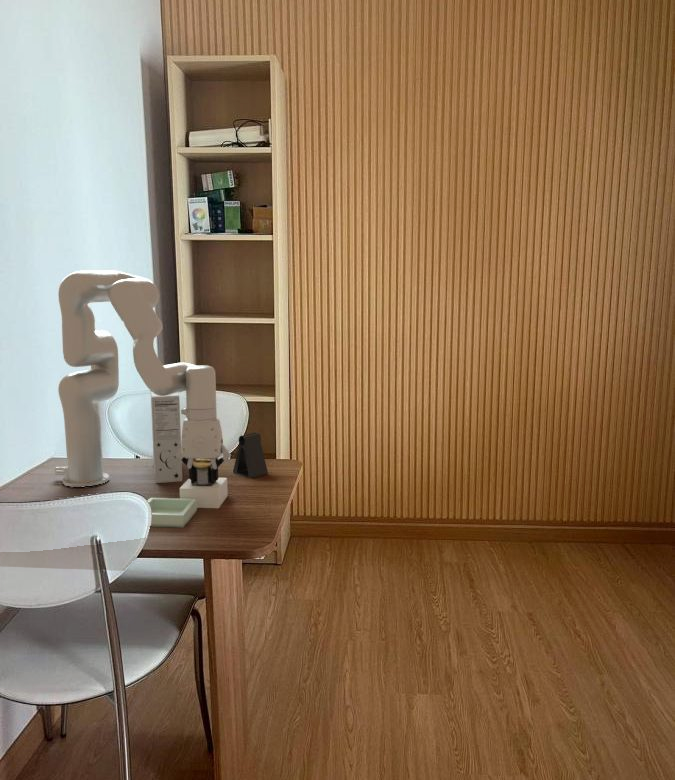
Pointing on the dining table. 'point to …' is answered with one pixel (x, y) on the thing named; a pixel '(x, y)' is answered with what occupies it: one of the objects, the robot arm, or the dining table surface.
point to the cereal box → (166, 437)
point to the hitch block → (205, 493)
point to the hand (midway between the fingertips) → (203, 481)
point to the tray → (172, 511)
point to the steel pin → (203, 472)
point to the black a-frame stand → (250, 457)
